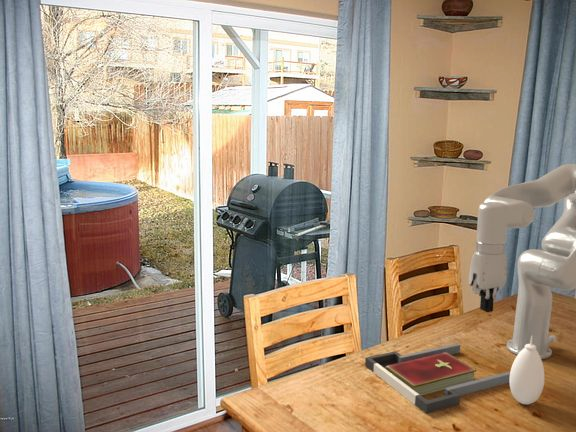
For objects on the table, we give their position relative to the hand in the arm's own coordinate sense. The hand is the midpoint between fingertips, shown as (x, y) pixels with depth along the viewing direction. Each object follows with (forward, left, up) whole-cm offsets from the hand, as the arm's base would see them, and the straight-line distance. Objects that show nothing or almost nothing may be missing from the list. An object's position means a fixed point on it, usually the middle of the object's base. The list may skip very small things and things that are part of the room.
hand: (486, 310), depth 149 cm
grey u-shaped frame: (+15, 0, -17) cm, 22 cm away
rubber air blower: (+5, +19, -17) cm, 26 cm away
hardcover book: (+19, 0, -18) cm, 26 cm away
